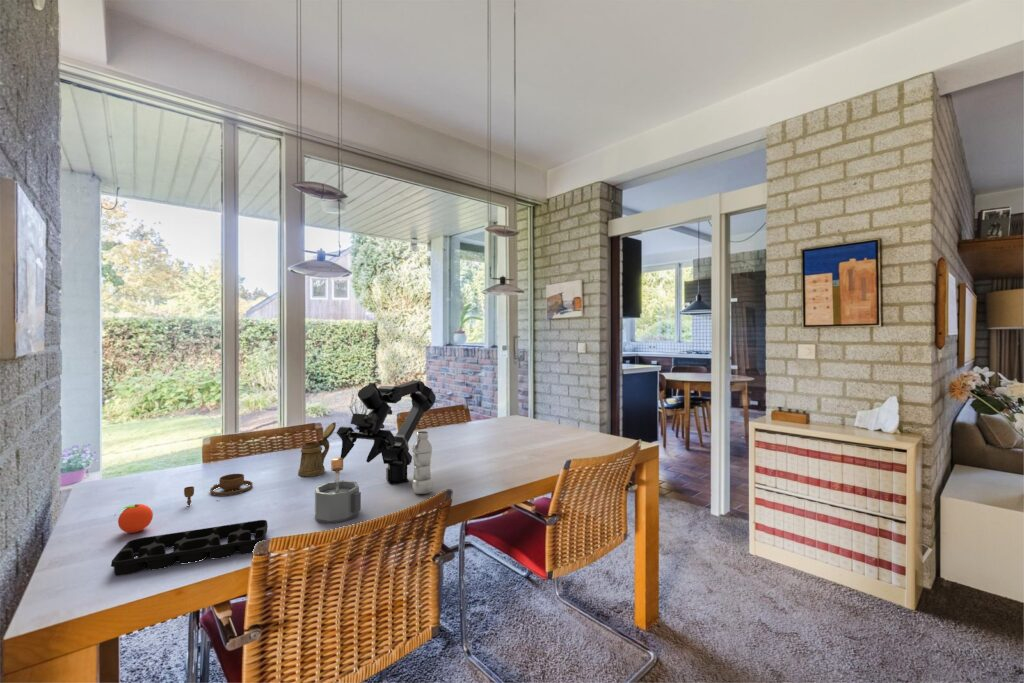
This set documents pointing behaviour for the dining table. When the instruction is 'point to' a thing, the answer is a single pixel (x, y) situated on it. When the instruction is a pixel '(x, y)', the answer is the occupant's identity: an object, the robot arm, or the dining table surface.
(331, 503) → the press jug
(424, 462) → the plastic bottle
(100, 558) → the dining table surface
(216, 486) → the place setting
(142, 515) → the clementine
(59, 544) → the dining table surface
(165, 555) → the egg carton
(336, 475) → the plunger
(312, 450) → the wooden mug
